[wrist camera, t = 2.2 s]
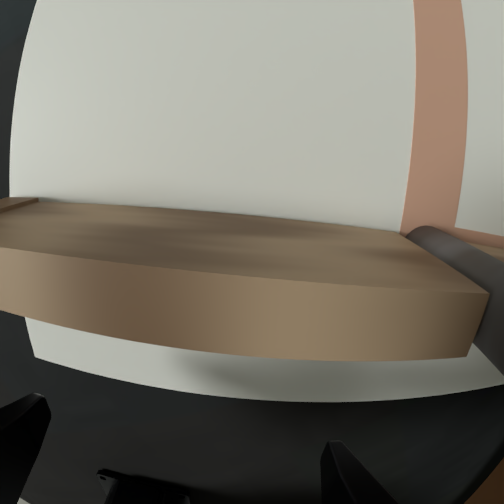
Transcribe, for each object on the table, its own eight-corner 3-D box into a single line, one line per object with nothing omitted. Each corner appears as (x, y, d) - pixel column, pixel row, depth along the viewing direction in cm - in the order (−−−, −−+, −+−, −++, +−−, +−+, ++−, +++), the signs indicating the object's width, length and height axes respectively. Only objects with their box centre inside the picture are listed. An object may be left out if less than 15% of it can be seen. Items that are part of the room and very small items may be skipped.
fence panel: (396, 227, 10) (509, 298, 4) (386, 277, 11) (476, 377, 5) (8, 197, 10) (-103, 233, 4) (11, 239, 10) (-92, 292, 5)
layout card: (534, 370, 13) (539, 375, 13) (40, 350, 13) (34, 357, 12) (576, 27, 7) (582, 25, 6) (82, -87, 6) (77, -92, 6)
